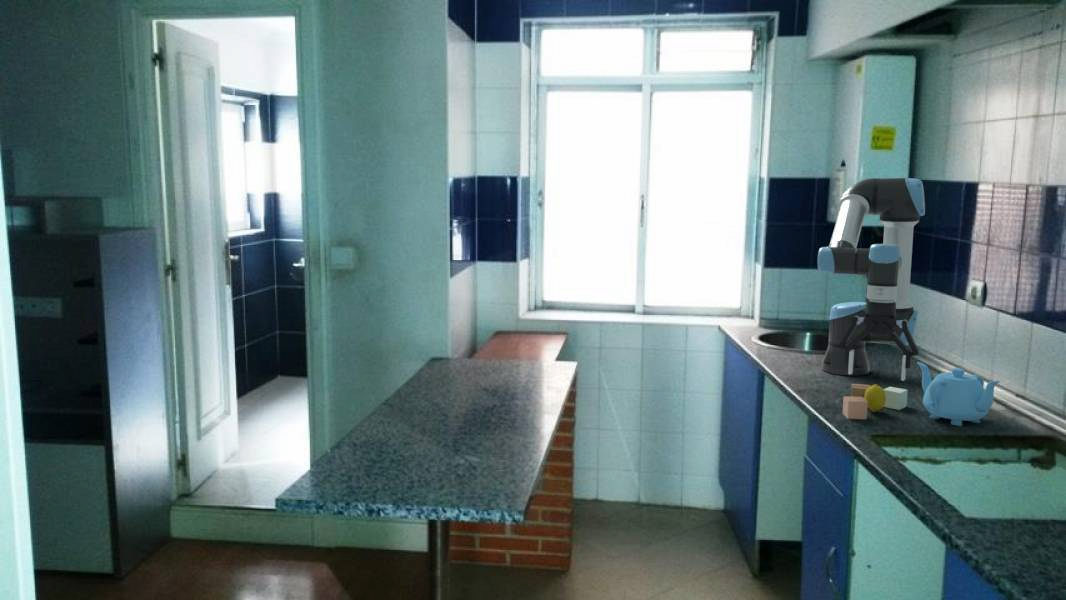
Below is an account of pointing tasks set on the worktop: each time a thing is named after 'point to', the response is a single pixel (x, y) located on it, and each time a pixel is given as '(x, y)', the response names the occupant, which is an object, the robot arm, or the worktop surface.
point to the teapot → (956, 395)
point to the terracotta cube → (854, 407)
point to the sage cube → (895, 398)
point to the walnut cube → (858, 390)
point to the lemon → (875, 397)
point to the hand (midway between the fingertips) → (876, 376)
